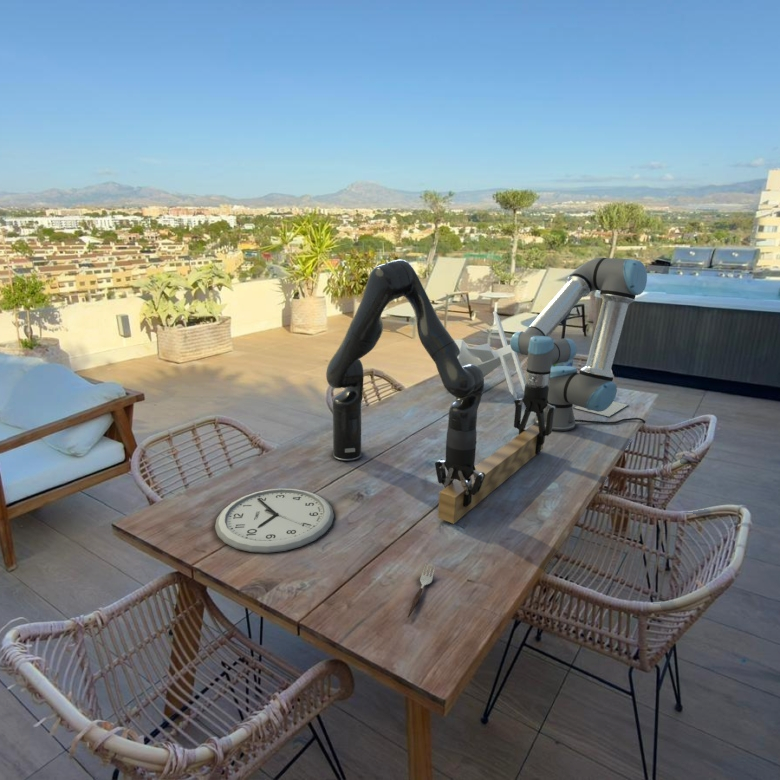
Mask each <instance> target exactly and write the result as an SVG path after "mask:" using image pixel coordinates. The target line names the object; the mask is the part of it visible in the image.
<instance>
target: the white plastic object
mask: <svg viewBox="0 0 780 780" xmlns="http://www.w3.org/2000/svg"><path fill="white" fill-rule="evenodd" d="M492 315H493V319H494V321H495V324H496V325H495V326H496V328H497V332H498V335H499V338H500V342H501V345H502V347H500V348H498V349H496V350H495V349H493V348H492V347H491V346H490V344H489V343H488V342H487V343H483V344H479V345H473V346H469V345H468V343H466V342H465V340H464V339H463V338H460V339H458V338H453V340H454V341H455V343H456V344H457V346H458V347H459V350H460V354H459V356H458V357H457V358H458V360H459V362H460V364H461V366H465V365H469V364H472V365H476V366H477V367H479V368H480V370H481V371H482V373H483V377H484V378H485V377H486V376H487V375H489V374H490V373H492V372H494V371H495V370H496V369H497V368H499V367H500V366H502V370H503V373H504V376H505V380H506V383H507V386H508V390H509V393H510V394H511V395H512V397H513V398H514V399H515V400H516V399H518V397H517V392H516V391H517V390H516V388H515V385H514V381H513V378H512V375H511V371H510V369H509V365H508V361H510V360H513V363H514V366H515V369H516V372H517V376H518V380H519V382H520V385H521V389H522V391H523V392H524V390H525V384H526V382H525V380H526V377H525V375H524V371H523V369H522V368H523V367H522V366H521V362H520V359H519V355H518V353H517V352H514V351H513V350H512V349H511V346H510V344H508V341H507V337H506V334H505V331H504V328H503V325H502V321H501V318H500V315H499V314H498V312H497V311H496V310H495V311H492Z"/></svg>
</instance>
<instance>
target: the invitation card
mask: <svg viewBox="0 0 780 780" xmlns="http://www.w3.org/2000/svg"><path fill="white" fill-rule="evenodd" d="M628 406H629V404H627V403H623V402H618V401H615V400H614V401H613V402H612V404H611V405H610V406H609V407H608V408H607V409H606V410H604V411H601V412H597V411H593V410H588V409H586V408H583V407H580V406H577V405H575V406H574V407H573V409H575V410H581V411H584V412H587V413H593V414H596V415H600V416H604V417H608V418H609V417H611V416H613V415H614V414H616V413H617V412H619V411H621V410H623V409H624V408H626V407H628Z"/></svg>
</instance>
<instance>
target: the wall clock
mask: <svg viewBox="0 0 780 780" xmlns="http://www.w3.org/2000/svg"><path fill="white" fill-rule="evenodd" d="M334 518H335V514H334V509H333V507H332V506H331V504H330V503H329V502H328V501H327V499H325V498H323V497H321V496H320V495H318V494H316V493H313V492H311V491H307V490H304V489H296V488H270V489H265V490H260V491H256V492H252V493H250V494H246V495H244V496H242V497H240V498H238V499H236V500H234V501H232V502H231V503H229V504H228V505H227V506H226V507H224V508H223V509H222V510H221V511H220V513H219V515H218V516H217V518H216V520H215V525H214V529H215V532H216V535H217V538H218V539H220V540H221V541H222V542H223V543H224V544H226V545H228V546H230V547H232V548H234V549H236V550H240V551H245V552H248V553H249V552H250V553H261V554H262V553H265V554H270V553H277V552H287V551H290V550H293V549H298V548H301V547H304V546H306V545H308V544H311V543H312V542H314V541H316V540H317V539H319V538H321V537H322V536H323V535H325V534H326V532H327V531H328V530H329V529H330V528H331V526H332V525H333V522H334Z"/></svg>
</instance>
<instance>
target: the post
mask: <svg viewBox="0 0 780 780" xmlns="http://www.w3.org/2000/svg"><path fill="white" fill-rule="evenodd" d="M524 430H525V431H523V432H522V433H521V434H519V433H518V435H517V436H515V437H514V438H512V439H511V440H509V441H508V442H507V443H505V444H504V445H503V446H501V447H500V448H499V449H496V451H494V452H493V453H491V454H490V455H488V456H487V457H486V458H484V459H483V460H482V461H480V462H479V463H478V464H476V465H474V466H475V470H476V471H478V472H479V473H482V472H483V473H485V477H484V480H483V482H482V485H481V488H480V490H479V492H477V493H476V494H475V495H472V500H471V504H469V505H468V506H467V507H464V506H463V501H464V494H465V492H464V488H463V487H462V485H461V481H459V480H457V479H454V480H453V483H451V484H450V485H448V486H447V487H446V488H445V487H444V488H443V489H442V490H440V491H439V492H438V494H439V495H438V513H437V518H438V519H441V520H443V521H445V522H447V523H449V524H453V525H454V524H455V523H457V522H458V521H459V520H460V519H462V518H463V517H464V516H465V515H466V514H468V512H470V511H471V510H472V509H473V508H475V507H476V506H477V505H478V504H479V503H480V502H482V501H483V500H484V499H485V498H486V497H488V496H489V495H490V494H491V493H492V492H494V491H495V490H496V489H497V488H498V487H499V486H501V485H502V484H503V483H504V482H506V481H507V480H508V479H509V478H510V477H512V476H513V475H514V474H515V473H516V472H518V470H520V469H522V467H523V466H524V465H526V464H527V463H528V462H529V461H530V460H532V459H533V458H534V457H535V456H537V454H535V451H536V442H537V435H539V434H540V433H539V426H538V425H534V424H532V425H530V426H529V427H527V428H525V429H524ZM543 450H544V444H543V445H541V451H543ZM471 478H472V486H473V485H474V482H475V480H474V475H473V474H472V475H471Z"/></svg>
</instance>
